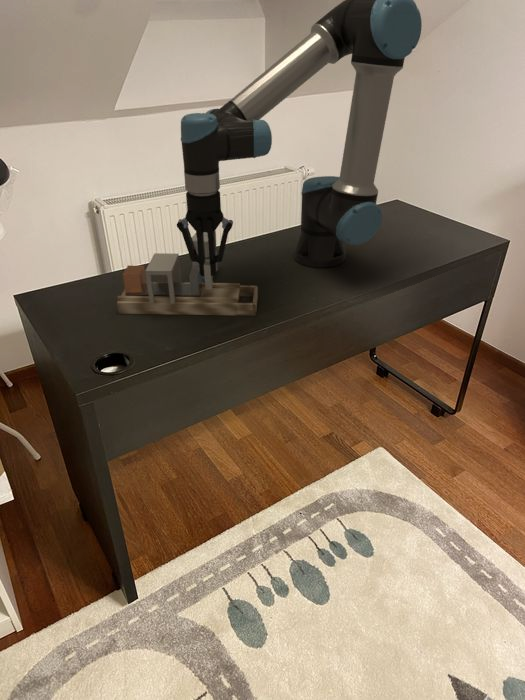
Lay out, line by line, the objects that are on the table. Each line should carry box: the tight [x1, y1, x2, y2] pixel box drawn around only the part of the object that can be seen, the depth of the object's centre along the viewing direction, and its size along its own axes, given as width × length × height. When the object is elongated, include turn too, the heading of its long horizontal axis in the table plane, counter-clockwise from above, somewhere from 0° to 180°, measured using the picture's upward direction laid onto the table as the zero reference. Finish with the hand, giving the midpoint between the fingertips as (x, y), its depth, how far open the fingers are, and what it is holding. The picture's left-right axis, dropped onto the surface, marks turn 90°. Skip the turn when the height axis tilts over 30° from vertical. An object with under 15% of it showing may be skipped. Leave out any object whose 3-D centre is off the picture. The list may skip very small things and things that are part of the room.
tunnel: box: [145, 252, 182, 304], centre depth 127 cm, size 6×10×8 cm, turn 178°
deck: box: [116, 281, 259, 317], centre depth 130 cm, size 34×10×4 cm, turn 88°
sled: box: [122, 264, 203, 297], centre depth 128 cm, size 18×6×6 cm, turn 88°
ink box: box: [191, 230, 218, 283], centre depth 142 cm, size 8×5×12 cm, turn 168°
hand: (209, 287), depth 128 cm, fingers closed
